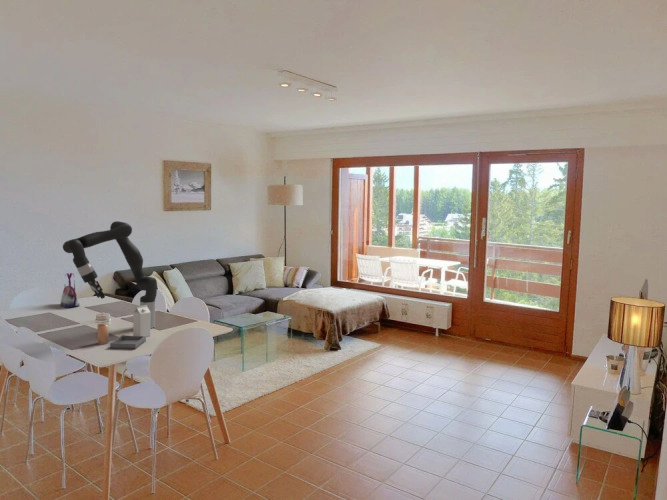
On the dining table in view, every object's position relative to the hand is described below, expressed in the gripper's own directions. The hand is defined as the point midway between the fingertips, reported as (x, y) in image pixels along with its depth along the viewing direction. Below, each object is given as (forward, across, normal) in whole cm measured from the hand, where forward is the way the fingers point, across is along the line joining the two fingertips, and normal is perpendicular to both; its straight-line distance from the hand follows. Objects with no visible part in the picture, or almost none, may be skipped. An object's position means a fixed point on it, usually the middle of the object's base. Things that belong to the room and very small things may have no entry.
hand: (101, 297), depth 277 cm
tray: (+30, -6, +1) cm, 31 cm away
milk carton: (+34, +8, -10) cm, 37 cm away
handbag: (+15, +113, +3) cm, 114 cm away
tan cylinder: (+25, +4, +11) cm, 27 cm away
